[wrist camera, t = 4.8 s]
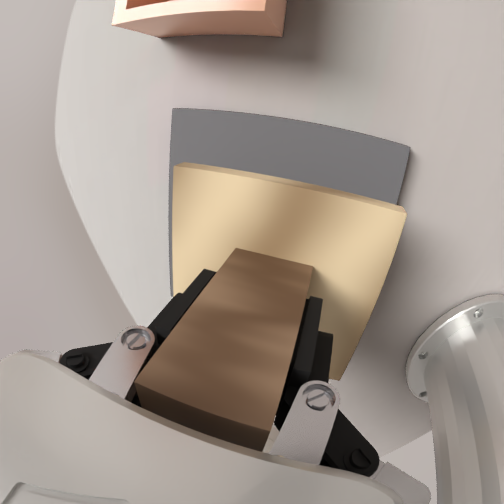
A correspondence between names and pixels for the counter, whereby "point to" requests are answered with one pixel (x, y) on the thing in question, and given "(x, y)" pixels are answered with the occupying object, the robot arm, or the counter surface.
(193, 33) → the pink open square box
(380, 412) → the counter surface
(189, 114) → the mat
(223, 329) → the lid
